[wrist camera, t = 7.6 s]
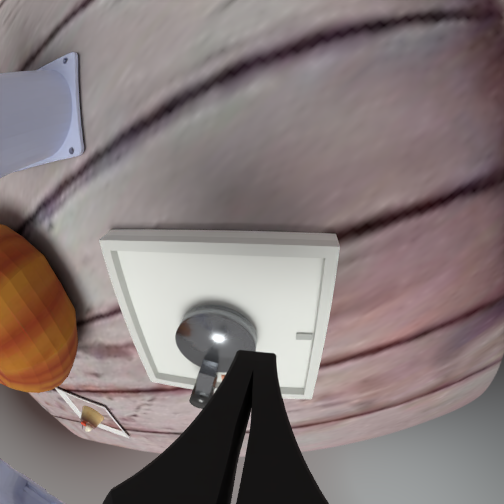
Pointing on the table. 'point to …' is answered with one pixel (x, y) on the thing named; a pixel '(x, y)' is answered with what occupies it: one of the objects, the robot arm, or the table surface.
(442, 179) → the table surface
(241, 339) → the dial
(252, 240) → the board
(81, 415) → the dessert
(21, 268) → the pumpkin
